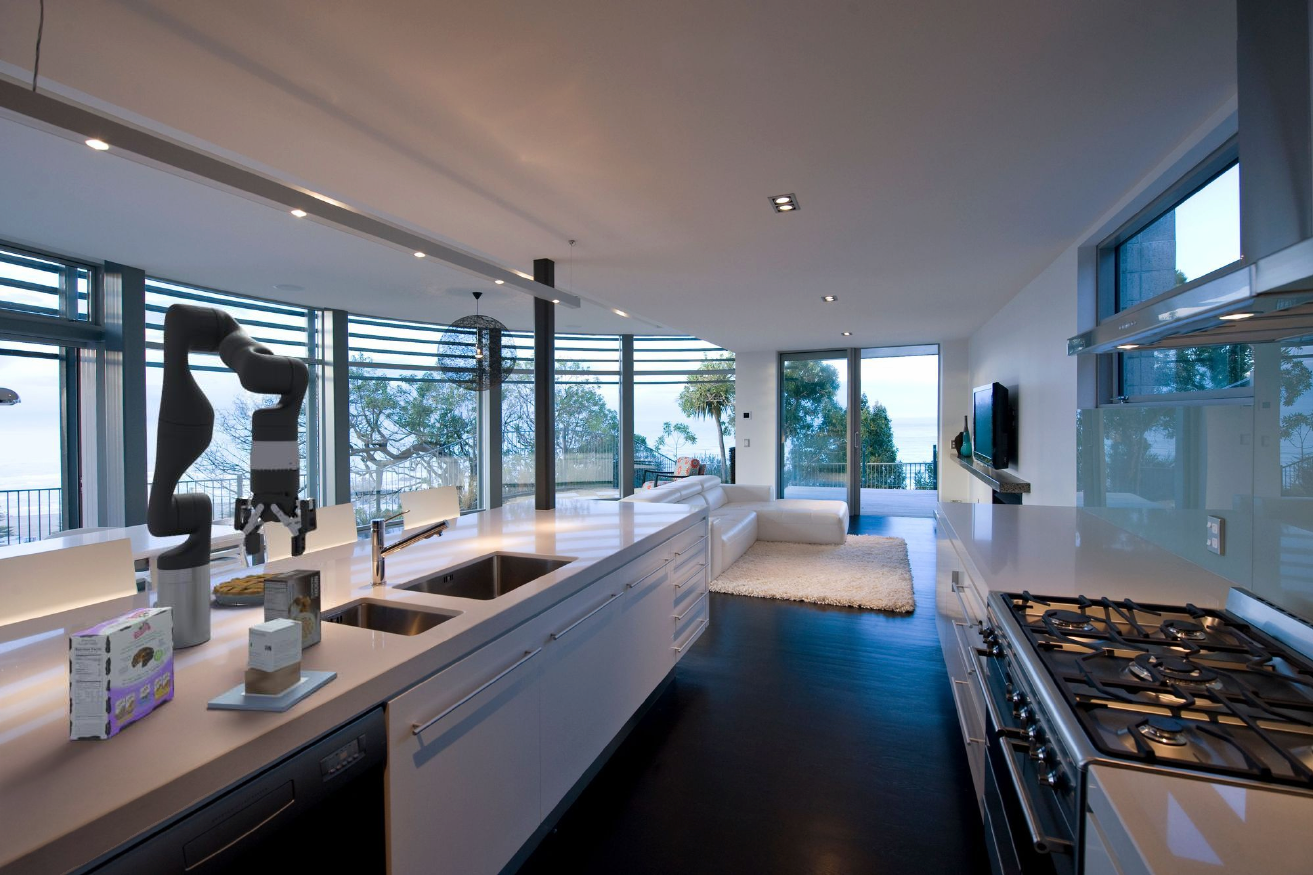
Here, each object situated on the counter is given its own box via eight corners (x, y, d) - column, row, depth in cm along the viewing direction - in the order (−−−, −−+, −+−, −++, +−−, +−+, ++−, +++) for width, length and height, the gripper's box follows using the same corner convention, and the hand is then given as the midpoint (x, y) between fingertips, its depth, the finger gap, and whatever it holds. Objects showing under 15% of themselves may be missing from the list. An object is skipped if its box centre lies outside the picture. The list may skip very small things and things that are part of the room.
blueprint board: (207, 707, 99) (207, 702, 99) (269, 672, 113) (269, 668, 113) (283, 711, 98) (283, 706, 98) (336, 676, 111) (336, 671, 111)
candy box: (140, 698, 102) (139, 606, 102) (175, 697, 102) (175, 605, 102) (67, 741, 88) (66, 634, 88) (108, 739, 89) (107, 633, 88)
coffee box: (298, 638, 131) (297, 568, 131) (322, 640, 130) (322, 569, 130) (263, 653, 122) (262, 578, 122) (288, 656, 121) (288, 580, 121)
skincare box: (247, 668, 103) (247, 627, 103) (280, 655, 109) (279, 617, 109) (271, 673, 101) (270, 631, 101) (303, 660, 107) (302, 620, 107)
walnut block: (244, 693, 102) (244, 671, 102) (270, 678, 108) (270, 657, 108) (276, 695, 102) (276, 672, 101) (300, 680, 108) (300, 659, 107)
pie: (272, 608, 153) (272, 589, 153) (191, 607, 154) (191, 589, 154) (321, 586, 175) (321, 569, 175) (250, 585, 176) (250, 569, 175)
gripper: (221, 466, 101) (222, 558, 102) (297, 468, 100) (297, 560, 100) (255, 463, 109) (255, 549, 109) (326, 465, 107) (326, 551, 108)
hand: (275, 554), depth 105 cm, fingers open, 8 cm apart
